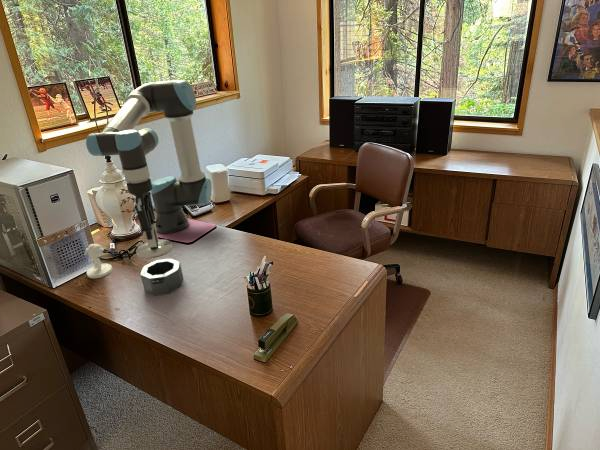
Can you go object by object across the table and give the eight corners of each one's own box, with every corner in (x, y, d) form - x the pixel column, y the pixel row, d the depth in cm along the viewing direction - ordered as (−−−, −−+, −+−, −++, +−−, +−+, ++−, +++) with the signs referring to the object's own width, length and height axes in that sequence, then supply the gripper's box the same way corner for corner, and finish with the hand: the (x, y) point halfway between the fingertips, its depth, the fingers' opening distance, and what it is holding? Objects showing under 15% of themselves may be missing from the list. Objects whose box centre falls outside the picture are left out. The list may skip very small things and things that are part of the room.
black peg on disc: (140, 244, 154) (136, 226, 151) (174, 240, 154) (171, 222, 152) (133, 260, 143) (128, 241, 140) (169, 256, 144) (165, 237, 141)
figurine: (82, 275, 165) (72, 248, 160) (101, 264, 172) (93, 237, 167) (98, 280, 161) (89, 252, 156) (117, 268, 168) (109, 241, 163)
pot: (150, 275, 161) (146, 259, 158) (184, 271, 162) (181, 255, 159) (141, 299, 147) (137, 282, 144) (180, 294, 148) (176, 277, 145)
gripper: (131, 173, 145) (147, 235, 155) (119, 189, 130) (137, 256, 140) (154, 170, 145) (168, 233, 155) (145, 186, 131) (160, 253, 141)
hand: (153, 244), depth 148 cm, fingers closed on black peg on disc, 3 cm apart
